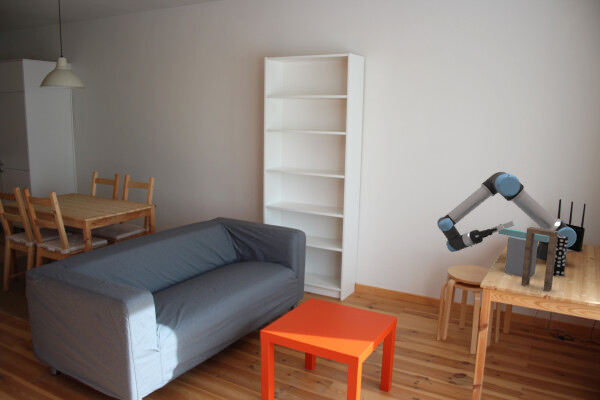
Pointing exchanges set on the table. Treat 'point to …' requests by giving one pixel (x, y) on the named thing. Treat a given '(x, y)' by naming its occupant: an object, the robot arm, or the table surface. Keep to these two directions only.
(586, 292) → the table surface
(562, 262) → the white-spotted black cylinder
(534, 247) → the block
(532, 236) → the stand
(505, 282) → the table surface
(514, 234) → the bar
